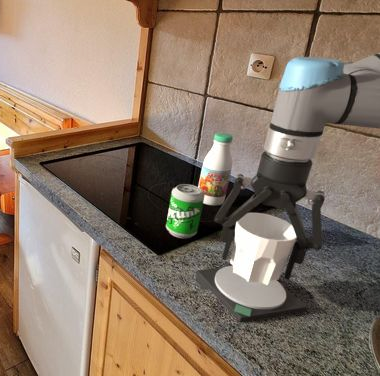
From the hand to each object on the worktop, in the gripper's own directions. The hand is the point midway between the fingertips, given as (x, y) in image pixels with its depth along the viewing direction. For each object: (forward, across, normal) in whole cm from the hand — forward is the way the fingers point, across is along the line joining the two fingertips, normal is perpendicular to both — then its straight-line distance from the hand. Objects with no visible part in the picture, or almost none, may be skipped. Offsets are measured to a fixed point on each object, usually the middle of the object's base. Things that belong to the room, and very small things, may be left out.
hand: (255, 265), depth 77 cm
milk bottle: (+8, -16, +41) cm, 45 cm away
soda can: (+8, -18, +18) cm, 26 cm away
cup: (+1, 0, 0) cm, 1 cm away
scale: (+8, 0, 0) cm, 8 cm away
